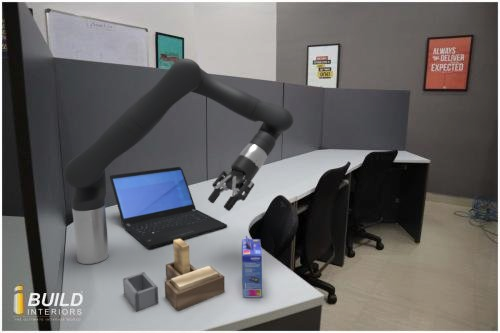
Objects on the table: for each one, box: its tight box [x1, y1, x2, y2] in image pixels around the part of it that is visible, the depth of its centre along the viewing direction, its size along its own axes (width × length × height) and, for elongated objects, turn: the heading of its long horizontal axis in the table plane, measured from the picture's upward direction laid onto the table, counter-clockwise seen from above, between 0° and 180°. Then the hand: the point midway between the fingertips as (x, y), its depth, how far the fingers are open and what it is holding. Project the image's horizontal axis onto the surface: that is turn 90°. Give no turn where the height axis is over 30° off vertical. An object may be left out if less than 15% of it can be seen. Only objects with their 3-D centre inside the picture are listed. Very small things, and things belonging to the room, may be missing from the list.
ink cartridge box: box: [241, 235, 264, 298], centre depth 91 cm, size 10×6×14 cm, turn 2°
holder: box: [122, 271, 159, 312], centre depth 86 cm, size 9×6×4 cm, turn 38°
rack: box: [164, 261, 226, 312], centre depth 91 cm, size 16×14×4 cm
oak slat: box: [172, 239, 191, 275], centre depth 93 cm, size 6×2×12 cm, turn 38°
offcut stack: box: [171, 265, 219, 292], centre depth 88 cm, size 5×12×5 cm, turn 128°
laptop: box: [109, 166, 228, 249], centre depth 136 cm, size 33×38×19 cm
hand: (217, 205), depth 97 cm, fingers open, 8 cm apart
